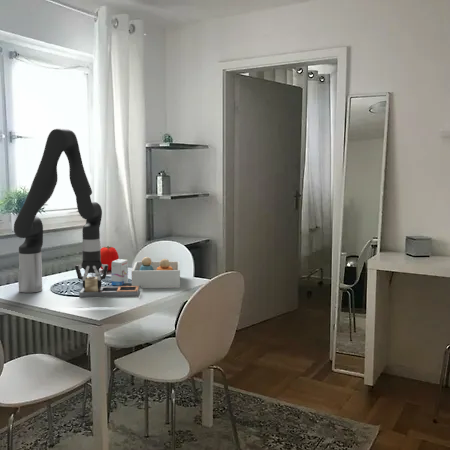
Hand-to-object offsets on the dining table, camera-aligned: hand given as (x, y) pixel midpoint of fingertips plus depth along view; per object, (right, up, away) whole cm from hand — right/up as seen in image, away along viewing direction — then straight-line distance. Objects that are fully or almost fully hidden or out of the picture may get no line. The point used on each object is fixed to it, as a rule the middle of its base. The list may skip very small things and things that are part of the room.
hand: (92, 288), depth 217 cm
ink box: (+7, -1, +21) cm, 22 cm away
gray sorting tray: (+7, -3, +1) cm, 8 cm away
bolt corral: (+24, -1, +28) cm, 37 cm away
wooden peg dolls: (+25, -1, +29) cm, 38 cm away
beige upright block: (0, -2, 0) cm, 2 cm away
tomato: (-6, +3, +55) cm, 55 cm away
